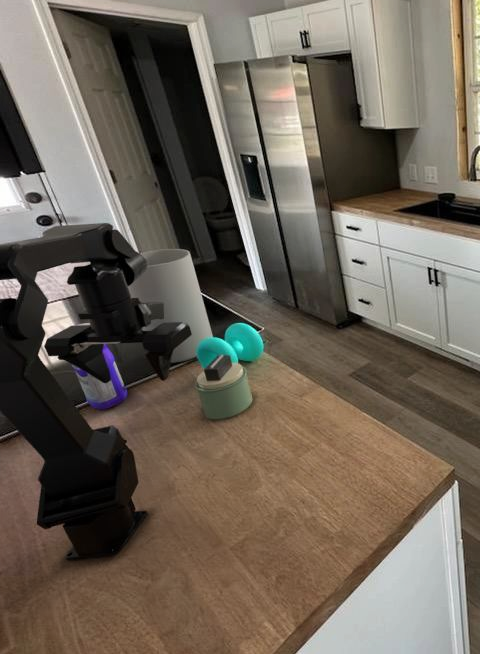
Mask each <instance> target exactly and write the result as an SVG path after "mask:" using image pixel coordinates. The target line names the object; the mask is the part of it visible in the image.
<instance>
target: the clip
mask: <svg viewBox="0 0 480 654" xmlns="http://www.w3.org/2000/svg"><path fill="white" fill-rule="evenodd" d="M231 367H232V362H231V358H230V355H221V356H216V358H215V359H214V360H213V361H212V362H211V363H210V364H209V365H208V366H207V367H206V368H205V369H204V368H203V371H204V373H205V376H206V380H207V381H217V380H221V379H222V377H223V376H224V375H225V374H226V373H227V372H228V370H229V369H230V368H231Z"/></svg>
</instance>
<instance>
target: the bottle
mask: <svg viewBox="0 0 480 654" xmlns="http://www.w3.org/2000/svg"><path fill="white" fill-rule="evenodd" d="M78 325H90V323H89V322H86V323H84V322H83V323H80V324H78ZM107 345H108V344H104V346H103V354H104V357H105V360H106V363H107V366H108V368H109V371H110V376H111V381H109V382H108V383H103V382H101V381H99V380H98V379H96V378H95V377H93V376H91V375H90V374H88V373H87V372H85V371H83V370H82V369H80V368H78V367H76V366H74V365H72V364H71V363H70V365H71V367H72V369H73V370H74V372H75V374H76V377H77V379H78V382H79V384H80V386H81V389H82V391H83V394H84V396H85V399H86V402H87V403H88V404H89V405H90V406H91V407H92V408H94V409H97V410H106V409H109V408H111V407H113V406H117V405H118V404H120V403H123V402H124V401H125V400H126V399H127V397H128V389H127V388H126V386H125V384H124V381H123V379H122V375H121V374H120V371H119V369H118V365H117V363H116V360H115V356H114V355H113V353H112V352H111V350H110V349H109V348H108V346H107Z"/></svg>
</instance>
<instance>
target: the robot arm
mask: <svg viewBox="0 0 480 654" xmlns="http://www.w3.org/2000/svg"><path fill="white" fill-rule="evenodd" d="M41 234H42V236H40V237H34V238H28V239H23V240H17V241H11V242H6V243H2V244H1V243H0V281H9V280H16V281H17V282H18V283H19V285H20V288H19V291H18V294H17V297H16V298H15V297H6V298H0V413H1V414H2V415H3V416H4V417H5V418H6V419H7V421H8V422H9V423H10V424H11V425H12V426H13V427H14V428H15V429H16V430H17V432H18V433H19V434H20V435H21V436H22V437H23V438H24V439H25V440H26V441H27V442H28V444H29V445H30V446H31V447H32V448H33V449H34V450H35V451H36V452H37V453H38V455H39V456H40V457H41V458H42V459H43V464H42V467H41V470H40V472H39V475H38V478H37V480H38V483H39V485H40V492H39V501H38V509H37V516H36V525H37V526H38V527H40V528H41V529H43V530H49V529H51V528H53V527H57V526H61V525H62V528H63V530H64V532H65V534H66V536H67V538H68V540H69V541H70V544H71V545H72V547H71V548H70V549H69V550H68V552H67V553H66V554H65V556H64V559H65V560H66V561H71V560H81V559H83V560H84V559H93V558H101V557H110V556H111V557H112V556H116V555H118V554H119V553H120V552H121V551H122V550H123V548H124V547H125V546H126V544H127V543H128V542H129V541H130V539H131V538H132V536H134V533H135V532H136V531H137V530H138V528H140V526H141V524H142V523H143V522H144V520H145V519H147V516H148V515H149V513H148V511H147V510H137V508H136V506H135V503H134V501H133V499H132V497H133V495H134V493H135V491H136V489H137V486H138V484H139V477H138V471H137V465H136V458H135V453H134V452H133V450H132V449H131V448H129V446H128V445H127V443H128V440H127V439H125V438H124V437H123V436H122V434H121V432H120V430H119V428H118V427H116V426H114V425H109V426H104V427H99V428H94V429H93V428H92V427H91V426H90V424H89V423H88V421H87V420H86V418H85V417H84V416H83V415H82V413H81V412H80V411H79V409H78V408H77V407H76V405H75V404H74V402H73V401H72V399H71V398H70V397H69V395H68V394H67V392H65V390H64V389H63V387H62V386H61V384H59V381H57V379H56V378H55V377H54V375H53V374H52V373H51V371H50V370H49V369H48V367H47V366H46V364H45V363H44V362H43V361H42V359H41V358H40V356H39V354H40V351H41V348H42V345H43V343H44V340H45V337H46V334H47V333H46V330H45V329H44V327H43V322H44V319H45V315H46V311H47V307H48V304H49V300H48V297H47V296H46V295H45V293H44V292H43V290H42V289H41V287H40V286H39V285H38V283H37V281H36V279H37V276H38V273H40V272H44V271H46V270H50V269H53V268H57V267H60V266H64V265H67V264H71V265H72V264H83V263H89V264H86V265H79V266H74V267H73V270H72V272H71V274H70V275H69V276H68V277H67V280H66V284H67V285H68V286H73V285H74V287H75V289H76V292H77V294H78V297H79V300H80V302H81V304H82V308H83V310H82V311H80V312H79V313H77V315H78V318H79V320H80V321H81V320H88V323H90V325H79V324H75V325H70V326H67V327H66V328H64V329H62V330H61V331H59V332H57V333H55V334H53V335H51V336H50V337H47V338H46V340H45V343H44V345H43V347H44V349H45V351H46V354H47V357H57V359H58V360H59V361H64V362H67V363H68V364H70V365H71V364H72V365H74V366H76V367H78V368H80V369H82V370H83V371H85V372H87V373H88V374H90V375H91V376H93V377H95V378H96V379H98V380H99V381H101V382H103V383H108V382H109V381H111V376H110V371H109V368H108V366H107V363H106V360H105V357H104V354H103V346H104V344H107V345H113V344H115V345H117V344H139V343H142V346H143V349H144V350H146V351H147V352H146V353H145V354H144V356H145V358H146V359H147V361H148V362H149V364H150V366H151V367H152V369H153V370H154V371H153V372H155V374H156V375H157V377H158V378H159V379H160V380H161V382H164V381H166V380H167V379H168V378H169V374H170V369H171V364H172V363H171V358H172V354H173V351H174V349H175V348H176V347H178V346H179V345H180V344H181V343H183V342H184V341H185V340H186V339H187V338H189V337H190V336H191V335H192V333H191V329H190V326H189V325H188V324H186V323H184V322H171V323H162V324H160V325H159V326H157V327H156V328H154V329H153V330H151V331H143V329H142V328H143V327H147V326H148V325H150V324H151V321H150V320H155V319H164V302H145V303H141V300H140V299H139V298H132V297H131V294H130V292H129V289H128V286H130V285H131V284H132V283H133V282H134V281H135V280H136V279H138V278H139V277H140V276H141V275H142V274H143V273H144V272H145V271H146V269H147V261H146V259H145V258H144V257H143V256H142V255H141V254H140V252H138V251H136V250H135V249H134V247H133V246H132V245H131V244H130V243H129V242H128V240H127V239H126V238H125V237H124V235H123V234H122V233H121V231H120V230H118V229H115V228H114V225H112V224H111V223H109V222H98V223H83V224H82V223H81V224H80V223H79V224H68V225H67V224H66V225H55V226H52V227H50V228H47V229H46V230H44V231H43V232H42V233H41ZM72 365H71V366H72Z"/></svg>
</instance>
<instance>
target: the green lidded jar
mask: <svg viewBox="0 0 480 654" xmlns="http://www.w3.org/2000/svg"><path fill="white" fill-rule="evenodd" d="M194 388H195V390H196V392H197V394H198V396H199V400H200V404H201V406H202V410H203V414H204V416H205V417H206V418H208V419H209V420H223V419H224V420H225V419H228V418H231V417H235V416H236V415H239V414H241V413H242V412H244V411H245V410H246V409H248V408H249V407H250V406H251V405H252V402H253V400H254V399H253V394H252V390H251V386H250V382H249V378H248V370H247V369H246V367H245V366H242V364H240V363H239V362H238V363H232V367H231V368H230V369H229V370H228V372H227V373H226V374H225V375H224V376H223V377H222V379H221V380H217V381H207V380H206V376H205V373H204V370H203V371H201V372H200V373H199V375H198V376H197V378H196V380H195V382H194Z"/></svg>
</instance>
